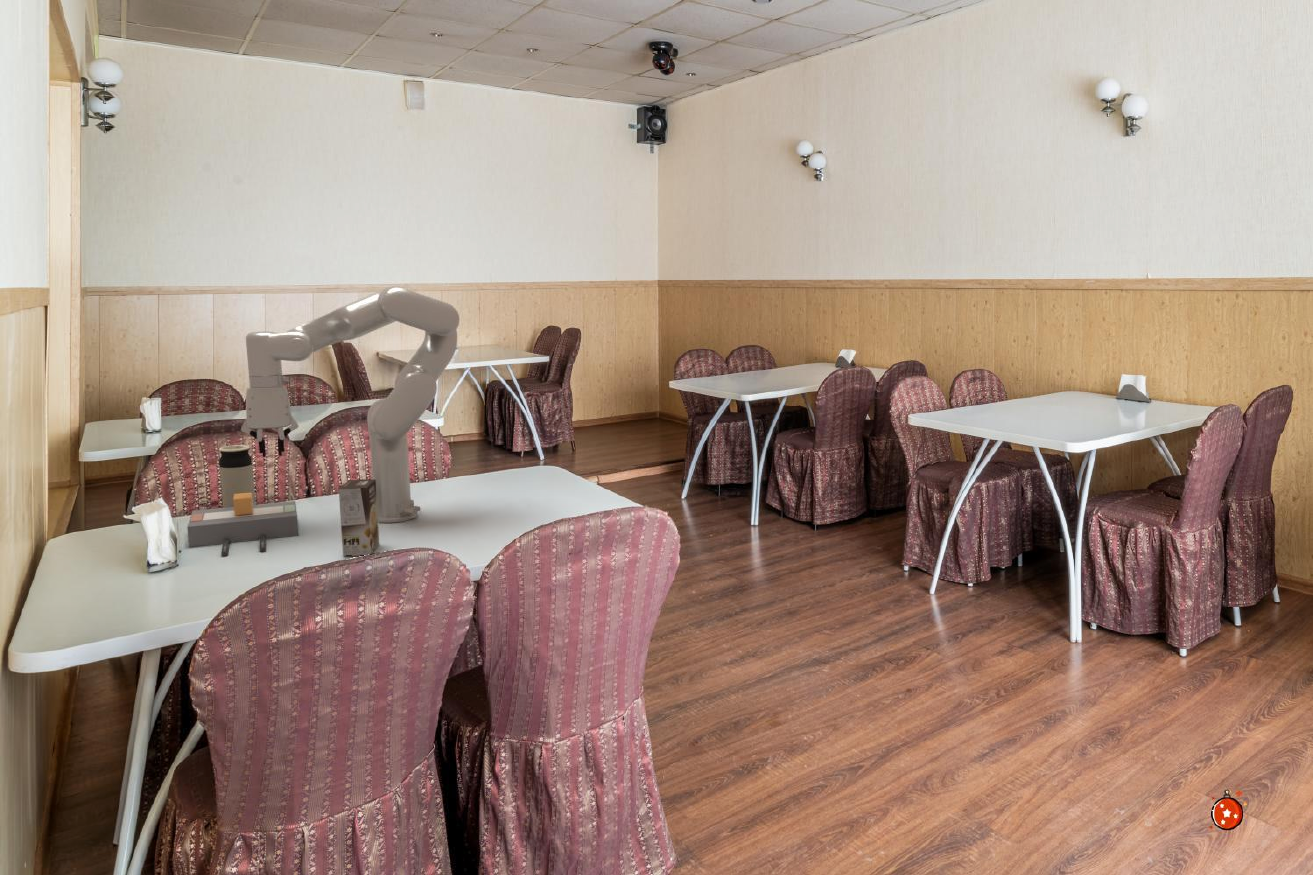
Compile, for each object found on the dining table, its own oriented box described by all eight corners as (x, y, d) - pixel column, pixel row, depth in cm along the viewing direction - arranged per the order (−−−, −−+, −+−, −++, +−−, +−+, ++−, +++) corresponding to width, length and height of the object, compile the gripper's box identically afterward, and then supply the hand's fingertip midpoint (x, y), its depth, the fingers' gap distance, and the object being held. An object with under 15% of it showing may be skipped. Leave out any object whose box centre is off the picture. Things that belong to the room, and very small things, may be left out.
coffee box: (371, 556, 201) (366, 487, 198) (342, 556, 200) (337, 488, 197) (380, 544, 210) (376, 478, 207) (352, 544, 209) (348, 479, 206)
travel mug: (240, 517, 234) (234, 451, 231) (217, 514, 236) (210, 449, 233) (262, 509, 241) (257, 445, 238) (239, 507, 244) (233, 443, 240)
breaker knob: (253, 507, 222) (251, 492, 221) (252, 513, 217) (251, 497, 216) (235, 509, 221) (234, 493, 220) (234, 515, 215) (233, 499, 214)
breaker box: (296, 519, 231) (295, 500, 231) (300, 547, 207) (298, 526, 206) (194, 529, 222) (192, 510, 221) (185, 561, 197) (182, 539, 196)
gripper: (301, 379, 222) (306, 450, 226) (230, 382, 216) (236, 455, 219) (302, 382, 216) (308, 455, 219) (228, 385, 209) (235, 461, 213)
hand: (272, 454), depth 219 cm, fingers open, 3 cm apart
